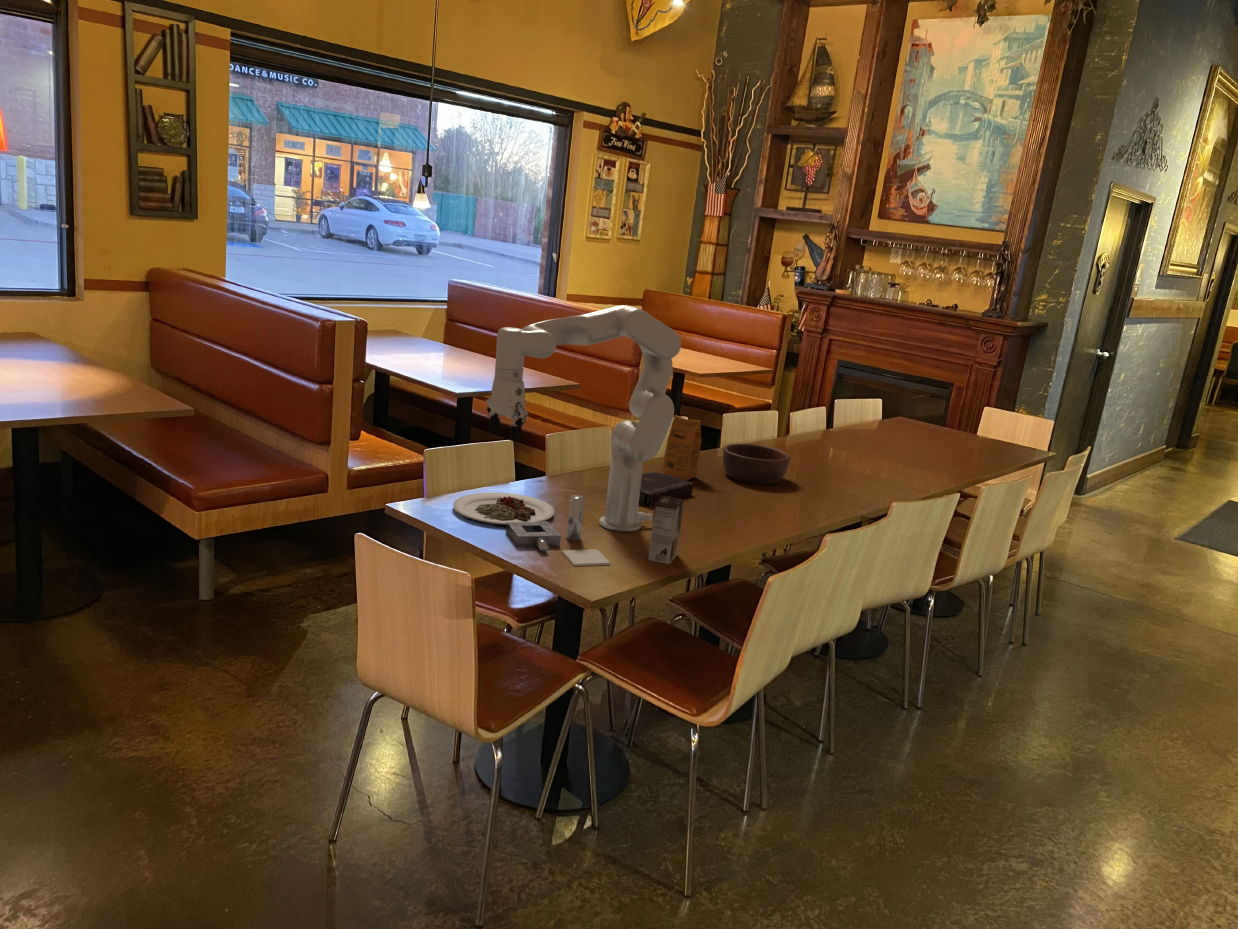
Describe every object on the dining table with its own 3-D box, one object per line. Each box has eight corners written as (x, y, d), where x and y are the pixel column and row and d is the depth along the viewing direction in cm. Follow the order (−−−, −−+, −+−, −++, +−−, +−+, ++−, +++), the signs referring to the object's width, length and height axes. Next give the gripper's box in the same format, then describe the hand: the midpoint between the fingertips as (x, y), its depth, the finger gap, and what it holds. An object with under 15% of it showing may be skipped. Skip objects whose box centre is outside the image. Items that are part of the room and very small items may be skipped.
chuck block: (546, 531, 268) (547, 521, 267) (565, 552, 252) (566, 541, 252) (505, 532, 263) (506, 522, 262) (522, 553, 248) (523, 542, 247)
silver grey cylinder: (578, 535, 267) (582, 495, 264) (582, 540, 263) (586, 499, 261) (564, 535, 266) (568, 495, 263) (569, 540, 262) (573, 499, 259)
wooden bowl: (707, 475, 350) (711, 448, 348) (739, 465, 370) (742, 440, 368) (768, 491, 337) (772, 463, 334) (797, 480, 357) (801, 454, 355)
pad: (596, 551, 256) (597, 549, 256) (609, 564, 247) (610, 562, 247) (562, 552, 252) (562, 550, 252) (573, 566, 243) (574, 563, 243)
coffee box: (655, 550, 262) (662, 494, 258) (677, 554, 260) (685, 499, 256) (647, 560, 253) (653, 503, 249) (670, 564, 252) (677, 507, 248)
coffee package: (671, 470, 352) (678, 412, 346) (700, 478, 345) (708, 419, 340) (657, 474, 343) (664, 415, 338) (686, 482, 337) (694, 422, 331)
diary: (692, 496, 321) (694, 482, 320) (650, 509, 302) (652, 494, 300) (648, 483, 332) (650, 469, 331) (605, 494, 312) (606, 480, 311)
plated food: (458, 529, 262) (459, 517, 262) (448, 497, 290) (448, 486, 289) (563, 530, 271) (564, 519, 270) (543, 499, 299) (544, 489, 298)
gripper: (540, 379, 249) (535, 442, 254) (500, 368, 261) (496, 428, 265) (517, 380, 244) (512, 444, 248) (478, 368, 256) (474, 430, 260)
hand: (504, 436), depth 257 cm, fingers open, 9 cm apart
